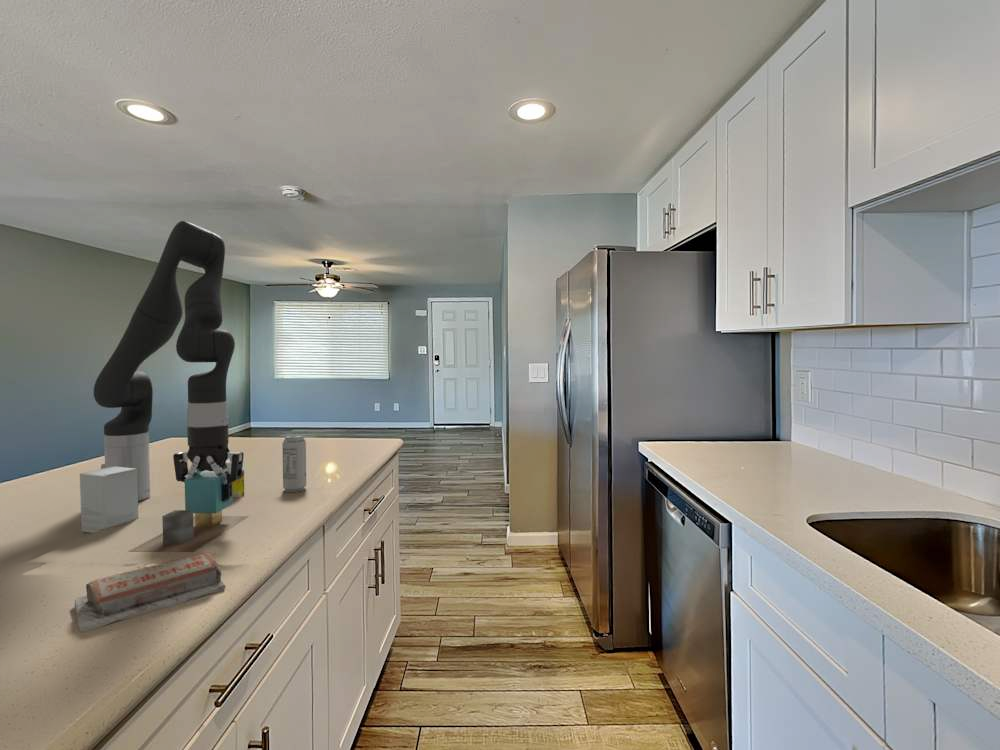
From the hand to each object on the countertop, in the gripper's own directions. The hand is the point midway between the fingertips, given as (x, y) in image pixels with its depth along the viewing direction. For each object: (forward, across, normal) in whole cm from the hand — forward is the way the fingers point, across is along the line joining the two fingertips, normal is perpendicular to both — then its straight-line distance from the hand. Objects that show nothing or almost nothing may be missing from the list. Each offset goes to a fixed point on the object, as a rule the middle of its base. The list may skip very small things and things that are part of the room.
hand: (209, 500), depth 106 cm
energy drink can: (+7, +5, +32) cm, 33 cm away
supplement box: (+7, -22, +1) cm, 23 cm away
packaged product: (+7, +8, -29) cm, 31 cm away
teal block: (+2, 0, 0) cm, 2 cm away
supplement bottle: (+7, -7, +22) cm, 24 cm away
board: (+6, 0, -5) cm, 8 cm away
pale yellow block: (+5, 0, 0) cm, 5 cm away
